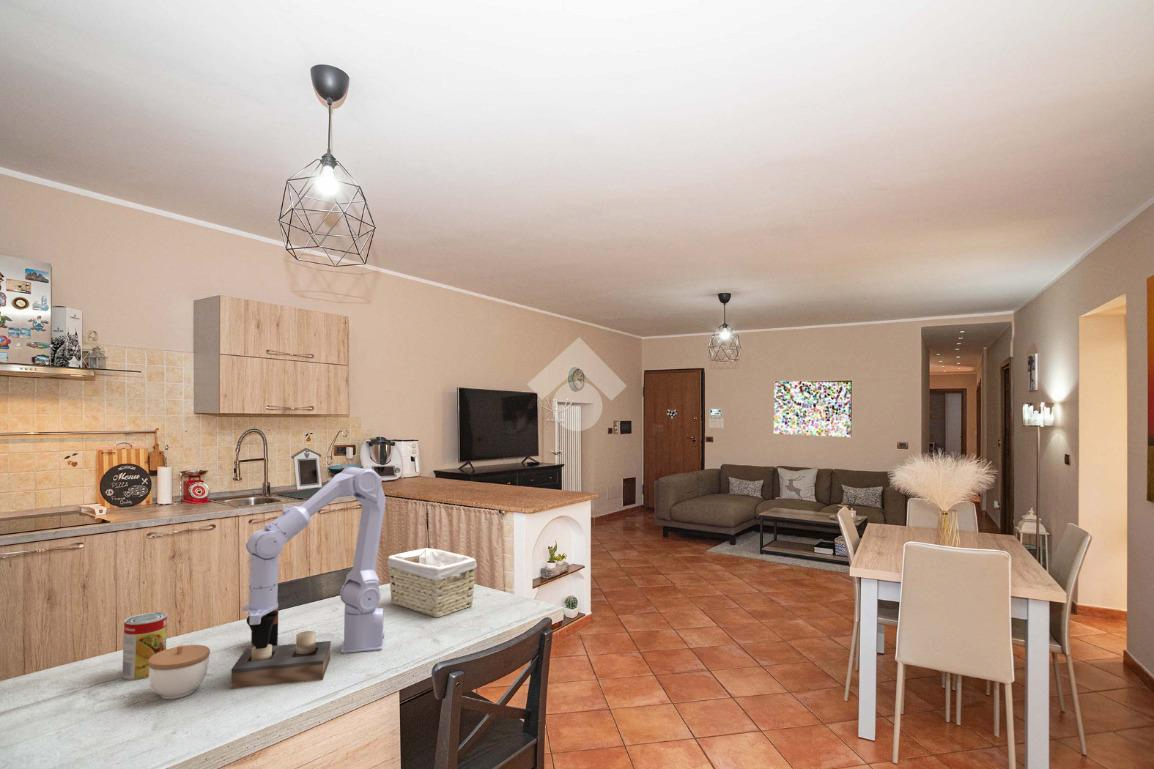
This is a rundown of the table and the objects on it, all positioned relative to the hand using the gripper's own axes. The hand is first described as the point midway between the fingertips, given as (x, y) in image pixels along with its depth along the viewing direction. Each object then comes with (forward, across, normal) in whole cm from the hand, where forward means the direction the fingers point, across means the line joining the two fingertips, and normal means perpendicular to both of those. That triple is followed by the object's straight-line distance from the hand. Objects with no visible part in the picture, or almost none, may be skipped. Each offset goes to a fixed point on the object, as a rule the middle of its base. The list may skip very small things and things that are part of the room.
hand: (261, 647), depth 136 cm
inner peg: (+2, 0, +9) cm, 9 cm away
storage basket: (+6, -41, +38) cm, 56 cm away
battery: (+6, -19, -4) cm, 20 cm away
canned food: (+6, -8, -26) cm, 27 cm away
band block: (+6, 0, +4) cm, 7 cm away
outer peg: (+4, 0, 0) cm, 4 cm away
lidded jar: (+6, +5, -14) cm, 17 cm away
